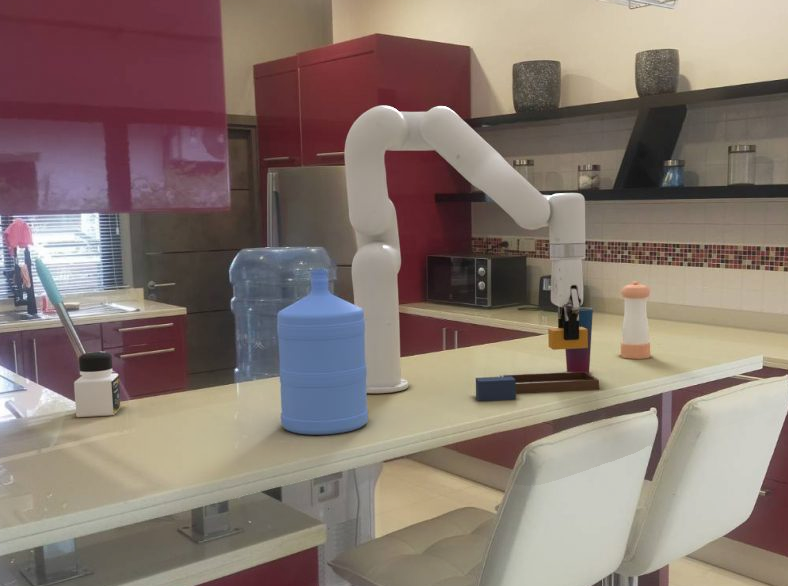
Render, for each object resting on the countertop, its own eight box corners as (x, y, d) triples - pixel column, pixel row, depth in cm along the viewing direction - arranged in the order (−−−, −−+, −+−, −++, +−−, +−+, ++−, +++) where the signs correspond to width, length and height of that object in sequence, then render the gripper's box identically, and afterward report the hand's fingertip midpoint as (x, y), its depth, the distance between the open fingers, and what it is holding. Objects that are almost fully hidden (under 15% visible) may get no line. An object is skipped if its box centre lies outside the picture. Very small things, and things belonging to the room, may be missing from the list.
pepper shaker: (655, 355, 219) (655, 280, 217) (641, 359, 214) (641, 282, 212) (629, 353, 224) (629, 279, 222) (615, 357, 219) (615, 281, 216)
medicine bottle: (114, 415, 168) (110, 354, 167) (76, 417, 167) (71, 356, 165) (121, 407, 175) (117, 349, 174) (84, 409, 174) (80, 351, 172)
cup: (591, 370, 201) (591, 306, 200) (594, 376, 195) (594, 310, 193) (562, 370, 202) (561, 307, 200) (564, 376, 195) (563, 310, 194)
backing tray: (508, 393, 179) (508, 384, 179) (500, 383, 189) (499, 374, 189) (599, 389, 181) (599, 380, 180) (585, 380, 191) (585, 371, 190)
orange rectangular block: (553, 349, 182) (552, 331, 181) (548, 346, 186) (548, 328, 185) (587, 347, 182) (587, 329, 182) (582, 345, 186) (582, 326, 186)
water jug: (384, 427, 153) (379, 269, 150) (302, 441, 145) (296, 275, 142) (344, 411, 167) (339, 266, 163) (267, 423, 158) (260, 271, 155)
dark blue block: (478, 401, 172) (478, 381, 172) (475, 396, 176) (475, 377, 176) (515, 399, 173) (515, 379, 173) (512, 395, 177) (511, 376, 177)
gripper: (541, 251, 190) (542, 333, 192) (559, 254, 173) (561, 344, 175) (574, 249, 190) (575, 332, 192) (596, 253, 174) (597, 343, 176)
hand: (568, 337), depth 184 cm, fingers closed on orange rectangular block, 3 cm apart
